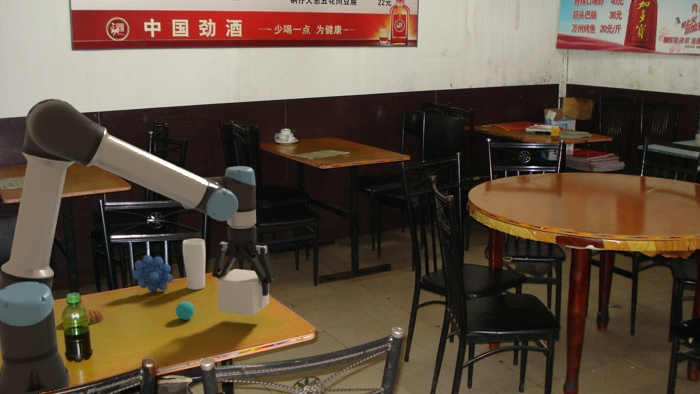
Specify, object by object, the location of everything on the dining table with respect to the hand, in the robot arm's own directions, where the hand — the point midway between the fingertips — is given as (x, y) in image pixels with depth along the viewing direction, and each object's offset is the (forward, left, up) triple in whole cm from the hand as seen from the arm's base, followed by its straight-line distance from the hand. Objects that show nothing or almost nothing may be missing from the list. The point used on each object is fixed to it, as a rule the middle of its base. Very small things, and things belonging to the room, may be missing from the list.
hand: (244, 304), depth 204 cm
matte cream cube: (0, 0, -1) cm, 1 cm away
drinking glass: (+22, +27, -6) cm, 36 cm away
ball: (-2, +17, -3) cm, 18 cm away
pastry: (-11, +44, -6) cm, 46 cm away
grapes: (+14, +37, -6) cm, 40 cm away
